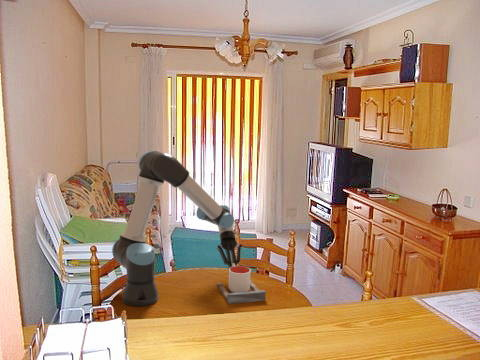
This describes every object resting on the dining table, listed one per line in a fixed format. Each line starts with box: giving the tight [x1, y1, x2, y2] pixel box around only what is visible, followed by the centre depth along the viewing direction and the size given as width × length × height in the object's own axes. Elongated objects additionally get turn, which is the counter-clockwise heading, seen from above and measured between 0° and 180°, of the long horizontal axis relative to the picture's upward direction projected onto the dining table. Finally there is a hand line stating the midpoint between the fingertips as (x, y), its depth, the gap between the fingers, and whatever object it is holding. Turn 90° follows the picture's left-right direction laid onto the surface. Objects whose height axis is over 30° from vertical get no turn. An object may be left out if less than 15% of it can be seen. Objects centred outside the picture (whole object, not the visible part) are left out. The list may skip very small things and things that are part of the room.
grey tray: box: [216, 279, 267, 305], centre depth 190 cm, size 20×17×4 cm
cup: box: [228, 265, 252, 293], centre depth 192 cm, size 10×10×10 cm
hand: (235, 277), depth 198 cm, fingers closed
